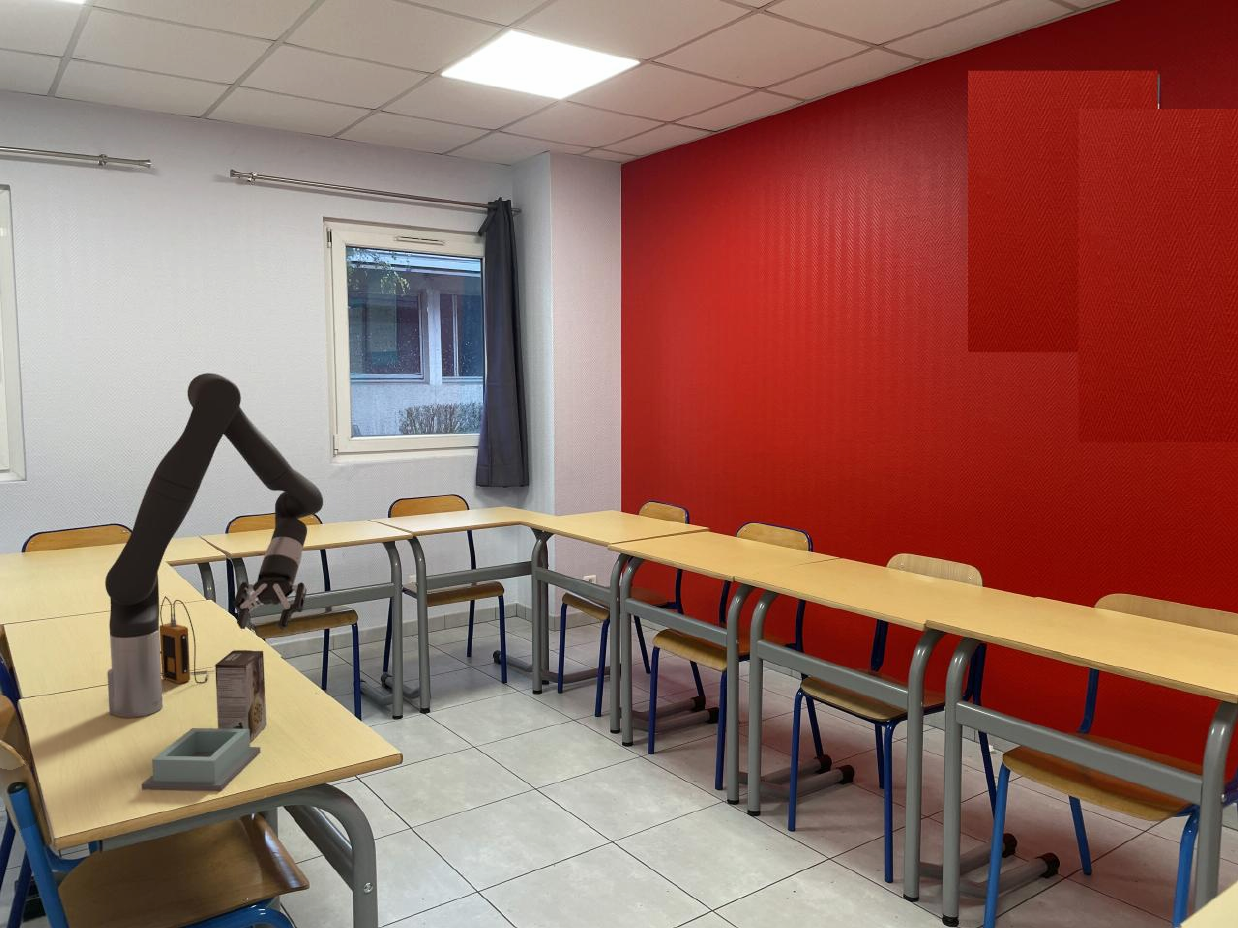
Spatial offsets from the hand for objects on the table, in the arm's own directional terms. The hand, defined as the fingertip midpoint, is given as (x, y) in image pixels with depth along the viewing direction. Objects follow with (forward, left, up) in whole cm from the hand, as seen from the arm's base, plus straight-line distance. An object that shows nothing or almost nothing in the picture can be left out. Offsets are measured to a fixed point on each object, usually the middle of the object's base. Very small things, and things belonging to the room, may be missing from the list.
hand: (261, 627), depth 189 cm
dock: (0, -26, -19) cm, 33 cm away
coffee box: (0, -10, -19) cm, 22 cm away
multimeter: (-28, +24, -19) cm, 41 cm away
